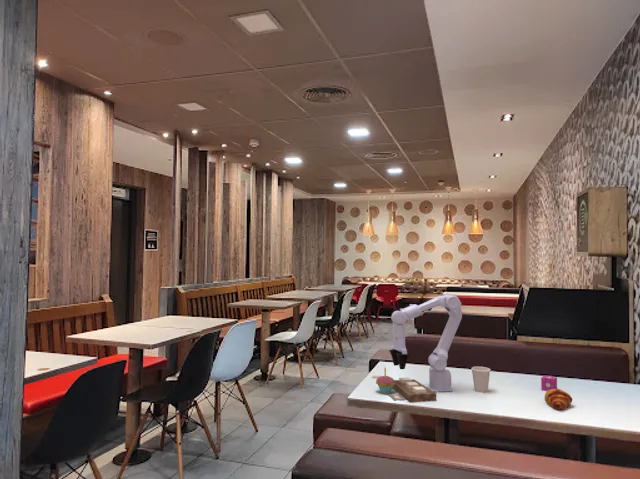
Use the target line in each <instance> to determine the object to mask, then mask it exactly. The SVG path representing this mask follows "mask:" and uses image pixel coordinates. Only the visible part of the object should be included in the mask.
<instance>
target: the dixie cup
mask: <svg viewBox="0 0 640 479" xmlns="http://www.w3.org/2000/svg"><path fill="white" fill-rule="evenodd" d="M470 370H471V374H472V380H473V388H474V389H473V390H474V391H475V392H477V393H488V391H489V383H490V377H491V376H490V374H491V368H489V367H485V366H472V367H471V368H470Z"/></svg>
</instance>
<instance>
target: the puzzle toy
mask: <svg viewBox="0 0 640 479" xmlns="http://www.w3.org/2000/svg"><path fill="white" fill-rule="evenodd" d="M540 378H541V379H540V380H541V386H540V387H541V388H540V389H541V391H543V392H546V391H548V390H551V389H558V377H556V376H549V375H543V376H542V377H540Z"/></svg>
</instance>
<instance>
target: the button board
mask: <svg viewBox="0 0 640 479" xmlns="http://www.w3.org/2000/svg"><path fill="white" fill-rule="evenodd" d="M410 379H411V378H410ZM411 380H412V382H416V383H417V384H419V387H423V388H425V389H426V393H417V394H416V393H415V392H413V391H412V388H408V387H406V384H402V383H401V382H399V379H394V381H395V385H394V386H393V388H392V390H393V391H395V393H396V394H398V393H399V395H401V396H402V397H403V398H405V399H406V400H405V401H408V402H409V403H417V402H419V403H422V402H421V401H423V402H437V392H433V391H432V390H430V389H428V388H427V387H426V386H425V385H424V384H422V383H420V382H419V381H417V380H416V379H415V378H414V379H411Z"/></svg>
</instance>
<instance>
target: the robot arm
mask: <svg viewBox="0 0 640 479" xmlns="http://www.w3.org/2000/svg"><path fill="white" fill-rule="evenodd" d="M437 307H441V308H444V309H445V310H446V312H447V313H448V315H449V317H448V320H447V322H446V324H445V327H444V329H443V332H442V334H441V337H440V339H439V342H438V343H437V346H436V347H435V348H434V349H433V350H432V351H433V352H432V353H431V354H430V355H429V356H428V359H427V361H428V364H429V365H430V366H429V372H428V374H429V377H428V378H429V384H428V386H425V387H427V388H428V389H430V390H432V391H433V392H435V393H440V392H453V389H452V373H451V371H450V370H449V369H446V368H447V366H448V363H447V362H448V358H449V356H448V355H449V354H448V352H449V350H450V348H451V345H452V342H453V340H454V338H455V335H456V333H457V330H458V329H459V326H460V323H461V321H462V319H463V312H462V302H461V300H460V299H459V297H458V296H457V295H454V294H452V295H451V294H449V293H446V294H443V295H439V296H436V297H433V298H432V299H429V300H427V301H425V302H423V303H421V304H419V305H418V304H415V303H414V304H412V303H410V304H409V306H406V307H404V308H399V310H395V311H393V312H392V314H391V316H390V319H391V321H392V331H391V332H392V343H391V346H390V347H389V348H390V349H389V350H388V351H389V353H390V356H391V359H392V363H393V366H396V367H397V366H398V368H399V369H400V370H405V369H406V365H407V360H408V359H409V357H410V353H408V349H407V346H406V327H405V325H406V324H405V323H406V321H410V320H412V319H415V318H417V317H420V315H421V313H423V312H425V311H428V310H430V309H432V308H437Z"/></svg>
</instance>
